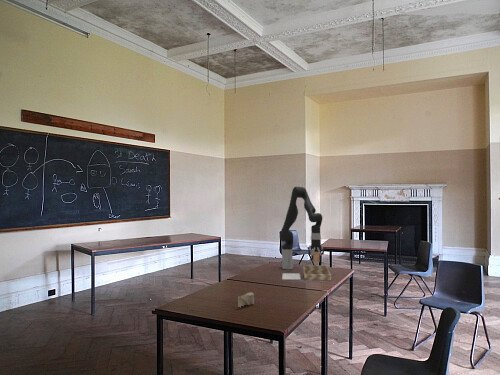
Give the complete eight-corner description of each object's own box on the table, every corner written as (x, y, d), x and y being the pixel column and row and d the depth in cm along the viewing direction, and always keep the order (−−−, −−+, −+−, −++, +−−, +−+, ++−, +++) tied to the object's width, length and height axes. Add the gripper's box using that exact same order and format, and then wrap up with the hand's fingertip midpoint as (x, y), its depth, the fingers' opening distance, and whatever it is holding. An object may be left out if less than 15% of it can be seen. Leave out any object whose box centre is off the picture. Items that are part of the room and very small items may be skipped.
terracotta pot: (312, 262, 286) (312, 252, 286) (312, 261, 291) (312, 250, 292) (320, 262, 285) (320, 252, 285) (319, 261, 291) (319, 250, 291)
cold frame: (304, 279, 279) (304, 270, 279) (303, 274, 299) (303, 265, 299) (331, 279, 277) (331, 270, 277) (328, 274, 297) (328, 265, 297)
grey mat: (282, 279, 281) (282, 278, 281) (282, 274, 301) (282, 273, 301) (300, 279, 279) (300, 278, 279) (299, 274, 299) (299, 273, 299)
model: (254, 305, 218) (253, 292, 218) (242, 309, 210) (242, 296, 210) (250, 304, 220) (249, 291, 220) (238, 308, 212) (238, 295, 212)
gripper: (324, 237, 292) (324, 259, 291) (306, 237, 293) (306, 259, 293) (325, 239, 284) (325, 261, 284) (307, 239, 286) (307, 260, 285)
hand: (316, 259), depth 288 cm, fingers closed on terracotta pot, 5 cm apart
